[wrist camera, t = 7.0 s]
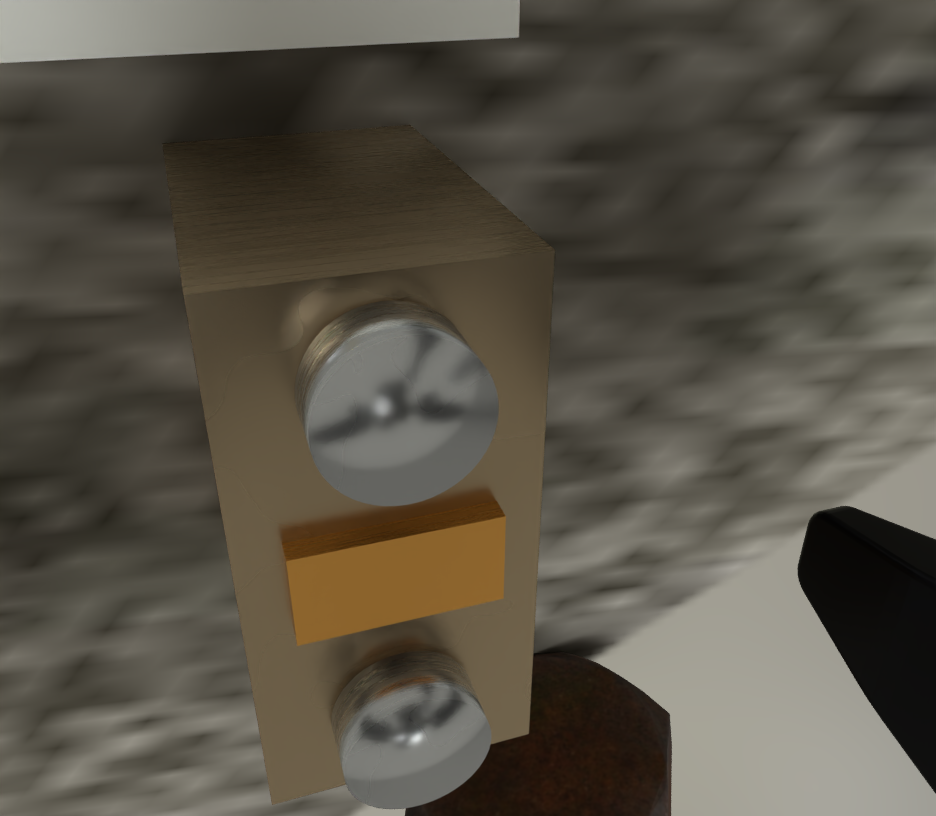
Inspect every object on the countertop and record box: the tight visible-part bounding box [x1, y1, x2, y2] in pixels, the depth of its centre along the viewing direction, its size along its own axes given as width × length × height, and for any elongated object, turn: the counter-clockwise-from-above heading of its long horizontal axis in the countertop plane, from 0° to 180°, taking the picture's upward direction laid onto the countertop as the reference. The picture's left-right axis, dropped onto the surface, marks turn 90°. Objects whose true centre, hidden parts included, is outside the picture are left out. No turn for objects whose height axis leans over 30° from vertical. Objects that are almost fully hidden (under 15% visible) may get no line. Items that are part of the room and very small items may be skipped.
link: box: [162, 125, 555, 809], centre depth 12 cm, size 7×4×6 cm, turn 0°
